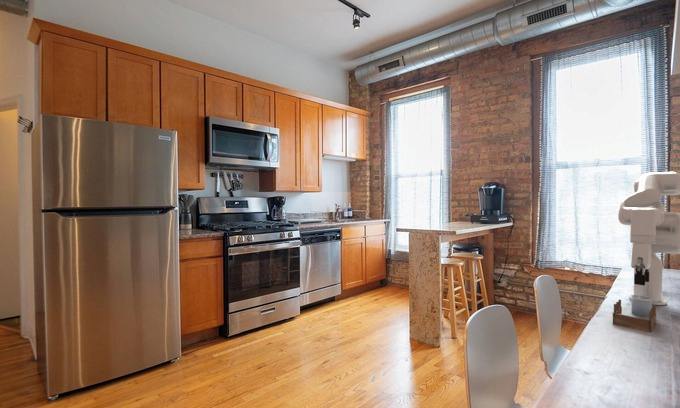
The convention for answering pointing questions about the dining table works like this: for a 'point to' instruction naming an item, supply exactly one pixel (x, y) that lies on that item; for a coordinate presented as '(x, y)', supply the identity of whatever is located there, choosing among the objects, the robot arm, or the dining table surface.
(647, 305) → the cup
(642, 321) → the rack
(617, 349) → the dining table surface
